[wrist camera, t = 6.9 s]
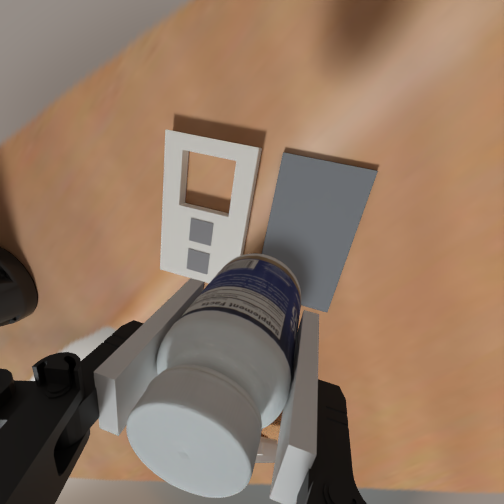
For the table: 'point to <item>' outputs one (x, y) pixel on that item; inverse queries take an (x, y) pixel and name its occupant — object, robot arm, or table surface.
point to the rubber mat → (316, 222)
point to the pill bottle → (220, 379)
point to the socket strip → (200, 218)
